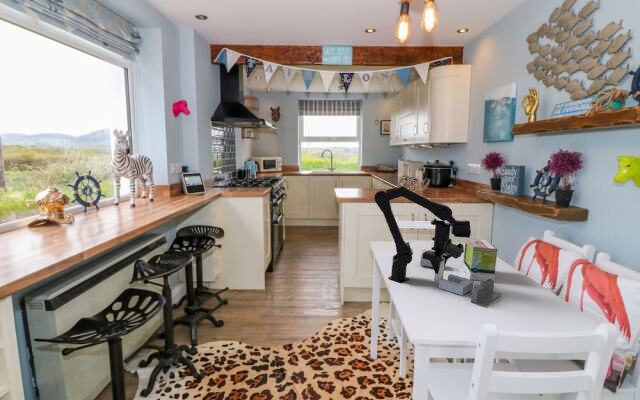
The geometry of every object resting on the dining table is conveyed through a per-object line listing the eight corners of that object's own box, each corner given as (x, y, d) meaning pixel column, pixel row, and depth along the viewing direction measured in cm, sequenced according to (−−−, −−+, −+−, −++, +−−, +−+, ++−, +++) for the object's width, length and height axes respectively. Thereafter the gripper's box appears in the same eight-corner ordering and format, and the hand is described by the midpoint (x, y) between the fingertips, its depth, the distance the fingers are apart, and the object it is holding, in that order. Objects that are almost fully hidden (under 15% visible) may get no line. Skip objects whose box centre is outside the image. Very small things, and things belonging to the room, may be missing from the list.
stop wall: (485, 307, 120) (486, 293, 120) (470, 302, 124) (471, 289, 123) (501, 294, 131) (502, 282, 130) (487, 290, 135) (489, 278, 134)
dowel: (440, 283, 139) (442, 259, 137) (432, 280, 141) (434, 257, 140) (444, 281, 141) (446, 257, 140) (436, 278, 143) (438, 255, 142)
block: (462, 295, 129) (462, 287, 129) (438, 287, 136) (439, 280, 135) (473, 288, 136) (474, 280, 135) (450, 281, 143) (450, 274, 142)
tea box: (494, 282, 144) (498, 248, 142) (469, 280, 146) (472, 246, 144) (485, 270, 158) (488, 239, 156) (462, 268, 160) (464, 237, 158)
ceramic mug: (438, 270, 157) (439, 253, 156) (419, 267, 160) (420, 251, 159) (439, 263, 167) (440, 248, 166) (421, 261, 170) (422, 246, 169)
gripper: (450, 244, 126) (446, 284, 128) (471, 236, 139) (468, 272, 141) (423, 237, 134) (420, 276, 136) (445, 230, 147) (442, 265, 149)
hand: (438, 272), depth 141 cm, fingers closed on dowel, 3 cm apart
